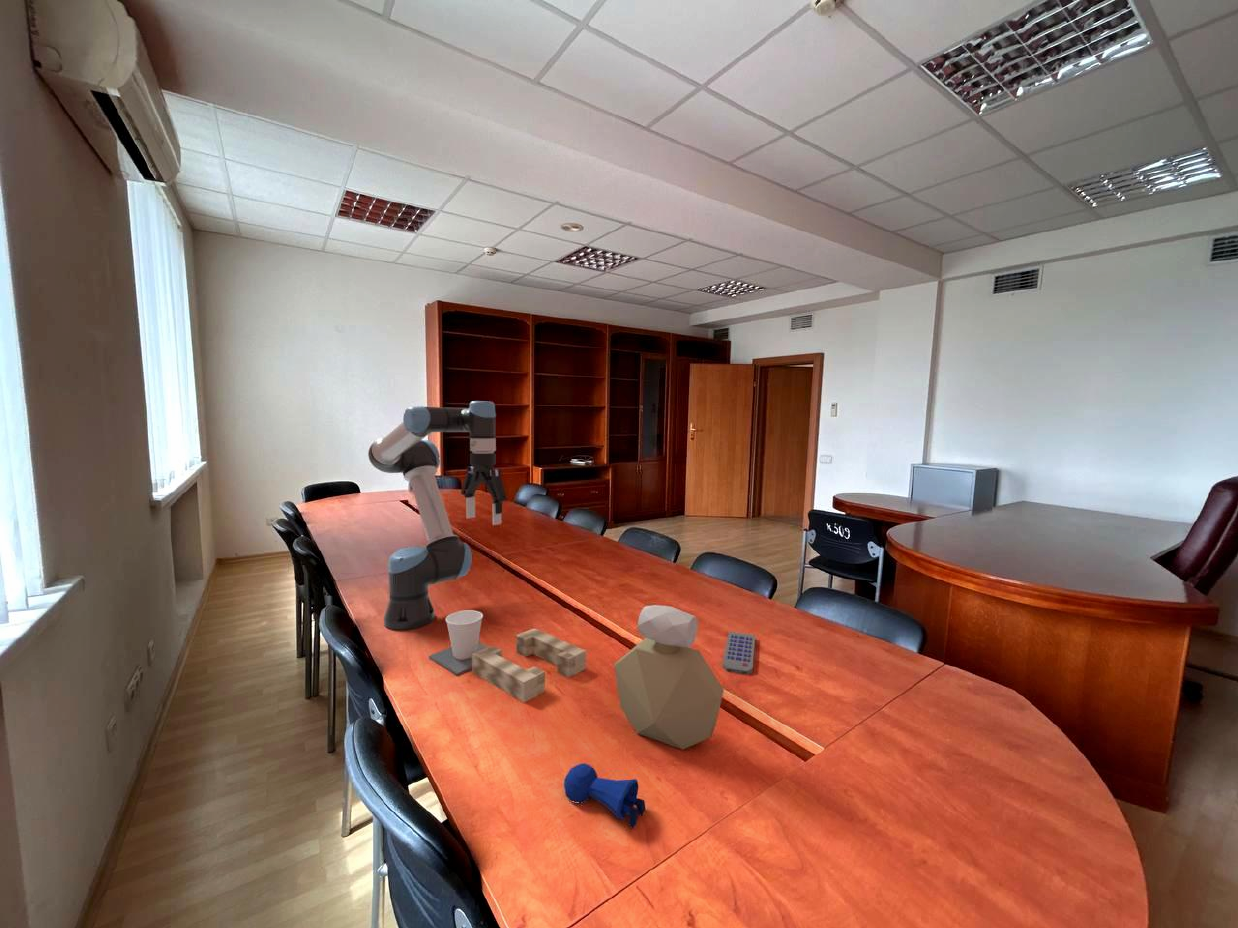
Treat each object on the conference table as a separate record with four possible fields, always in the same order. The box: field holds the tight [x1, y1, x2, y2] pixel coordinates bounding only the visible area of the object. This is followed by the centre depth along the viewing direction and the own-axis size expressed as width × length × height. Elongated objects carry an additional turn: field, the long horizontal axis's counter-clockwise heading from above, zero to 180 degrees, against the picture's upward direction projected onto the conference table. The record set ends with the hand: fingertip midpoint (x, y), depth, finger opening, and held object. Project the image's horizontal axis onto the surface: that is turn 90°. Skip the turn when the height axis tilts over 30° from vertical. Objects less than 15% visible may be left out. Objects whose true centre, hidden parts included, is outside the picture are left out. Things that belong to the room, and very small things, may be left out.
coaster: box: [428, 641, 488, 676], centre depth 136 cm, size 14×14×1 cm
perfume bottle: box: [613, 604, 725, 750], centre depth 103 cm, size 12×24×28 cm, turn 61°
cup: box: [445, 609, 484, 660], centre depth 135 cm, size 10×10×11 cm
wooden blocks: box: [471, 627, 587, 703], centre depth 129 cm, size 21×21×5 cm
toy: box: [563, 762, 647, 829], centre depth 85 cm, size 7×6×15 cm
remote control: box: [722, 631, 756, 675], centre depth 140 cm, size 8×23×2 cm, turn 162°
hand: (483, 521), depth 151 cm, fingers open, 13 cm apart
